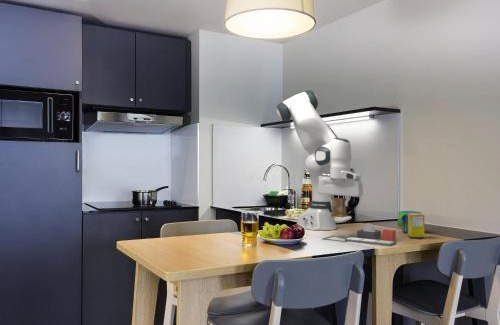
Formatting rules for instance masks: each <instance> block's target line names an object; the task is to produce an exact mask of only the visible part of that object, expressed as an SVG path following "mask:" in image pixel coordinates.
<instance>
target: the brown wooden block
mask: <svg viewBox="0 0 500 325" xmlns="http://www.w3.org/2000/svg"><path fill="white" fill-rule="evenodd" d="M346 200H347V199H346V197H334V198H333V206H332V213H331V216H333V217H334V218H345V217H347V216H348V213H347V206H343V202H345V201H346Z"/></svg>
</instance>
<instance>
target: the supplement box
mask: <svg viewBox="0 0 500 325" xmlns="http://www.w3.org/2000/svg"><path fill="white" fill-rule="evenodd" d="M421 213H422V212H421ZM421 213H408V233H407V237H408V238H409V239H420V240H421V239H423V240H424V239H425V214H424V213H422V214H421Z"/></svg>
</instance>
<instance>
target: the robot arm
mask: <svg viewBox="0 0 500 325" xmlns="http://www.w3.org/2000/svg"><path fill="white" fill-rule="evenodd" d="M318 106H319V98H318V96H317V94H316V93H315V92H314V91H313V90H311V89H309V90H304V91H303V92H300V93H297V94H294V95H293V96H291V97H289V98H287V99H285V100H284V101H281V102H279V103H278V104H277V106H276V113H277V116H278V118H280V120H281V121H283V122H290V121H291V120H292V122H293V127H294V129H295V132H296V134H297V137H298V139H299V141H300V143H301V145H302V148H303V149H304V151H305V152H307V153H308V154H309V155H308V156H307V157H306V158H305V162H304V165H305V168H306V170H307V171H308V174H309V178H310V182H311V200H310V201H309V202H308V201H307V205H308V208H306V210H304V211H303V212H301V213H300V214H299V215H298V218H297V222H296V224H298V225H300V226H302V227H303V228H304V230H310V231H330V230H337V225H336V220H335V217H333V216H331V213H332V206H333V198H335V196H340V197H341V196H343V197H345V198H346V201H345V202H343V206H346V207H348V206H349V202H350V200H351V197H353V198H354V197H355V198H360V197H362V196H363V194H364V190H363V189H364V186H363V182H362V180H361V179H362V175H361V174H359V173H356V172H354V171H352V170H351V161H352V147H351V146H352V145H351V141H350V140H349V139H346V138H343V137H342V138H341V137H339V136H337V135H336V133H335V132H334V131H333V129H332V128H331V126H330V125H329V124H328V123H327V122H326V121H325V120H324V119H323V118H322V117H321V116H320V115H319V113H318V112H317V111H316V109H317V108H318Z"/></svg>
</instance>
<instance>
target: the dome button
mask: <svg viewBox="0 0 500 325" xmlns="http://www.w3.org/2000/svg"><path fill="white" fill-rule="evenodd" d="M362 229H363V231H368V232H375V230H376V228H375V225H374V224H372V223H371V222H369V223H366V224H364V225H363V228H362Z"/></svg>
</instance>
